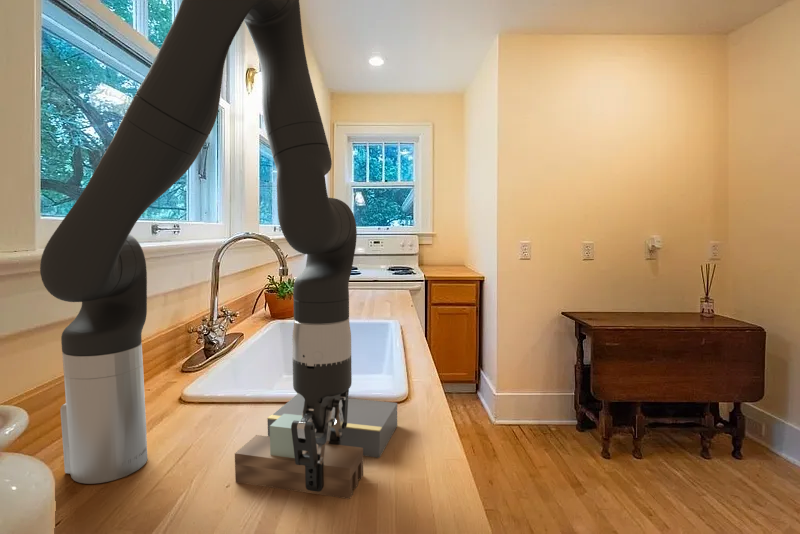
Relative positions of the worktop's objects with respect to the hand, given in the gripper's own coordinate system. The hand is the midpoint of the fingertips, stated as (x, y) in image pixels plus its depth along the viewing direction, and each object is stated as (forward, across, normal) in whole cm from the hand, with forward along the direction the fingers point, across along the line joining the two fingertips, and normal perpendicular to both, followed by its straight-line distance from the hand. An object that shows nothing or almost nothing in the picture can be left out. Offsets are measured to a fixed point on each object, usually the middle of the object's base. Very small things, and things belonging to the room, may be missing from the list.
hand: (323, 476), depth 63 cm
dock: (+1, -14, -4) cm, 14 cm away
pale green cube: (-3, 0, -5) cm, 6 cm away
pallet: (+1, 0, -3) cm, 4 cm away
